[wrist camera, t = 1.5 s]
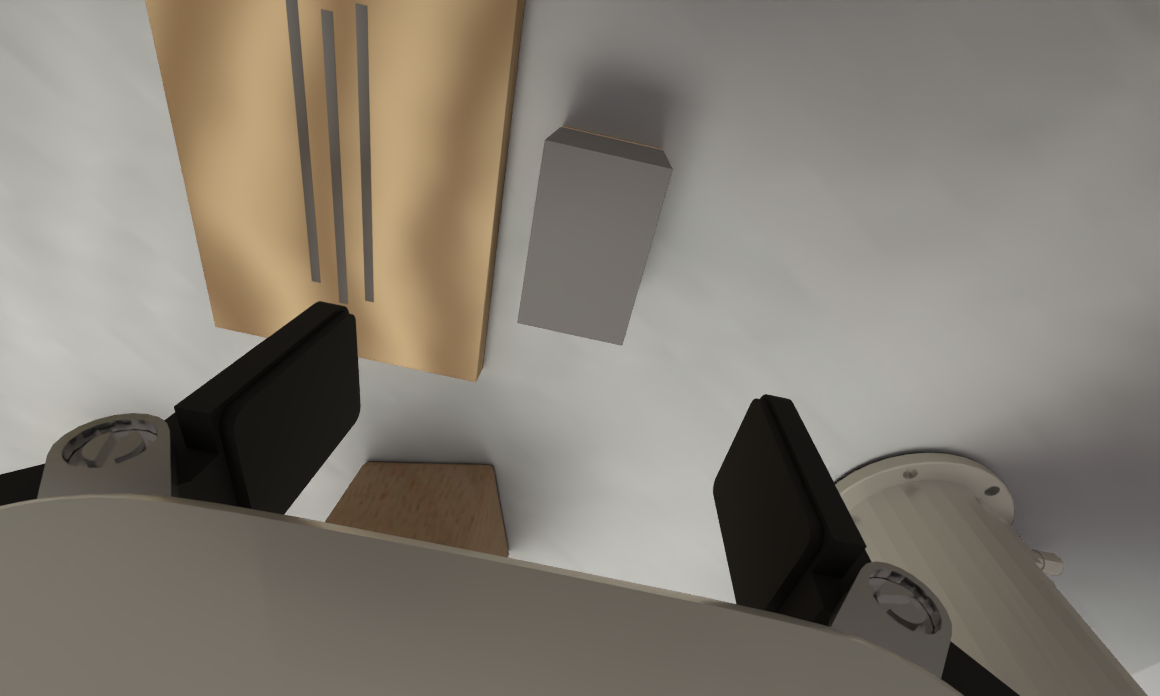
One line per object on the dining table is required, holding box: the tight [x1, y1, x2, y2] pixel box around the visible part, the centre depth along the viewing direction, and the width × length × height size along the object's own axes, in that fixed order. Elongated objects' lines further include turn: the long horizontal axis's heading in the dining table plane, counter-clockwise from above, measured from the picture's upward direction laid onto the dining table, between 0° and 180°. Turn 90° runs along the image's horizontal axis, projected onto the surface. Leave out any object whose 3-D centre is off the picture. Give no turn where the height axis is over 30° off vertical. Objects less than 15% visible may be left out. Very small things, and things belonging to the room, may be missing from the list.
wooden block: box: [325, 462, 509, 558], centre depth 29 cm, size 10×10×20 cm
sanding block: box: [517, 126, 673, 345], centre depth 23 cm, size 5×8×6 cm, turn 169°
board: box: [145, 0, 525, 382], centre depth 24 cm, size 16×22×2 cm
